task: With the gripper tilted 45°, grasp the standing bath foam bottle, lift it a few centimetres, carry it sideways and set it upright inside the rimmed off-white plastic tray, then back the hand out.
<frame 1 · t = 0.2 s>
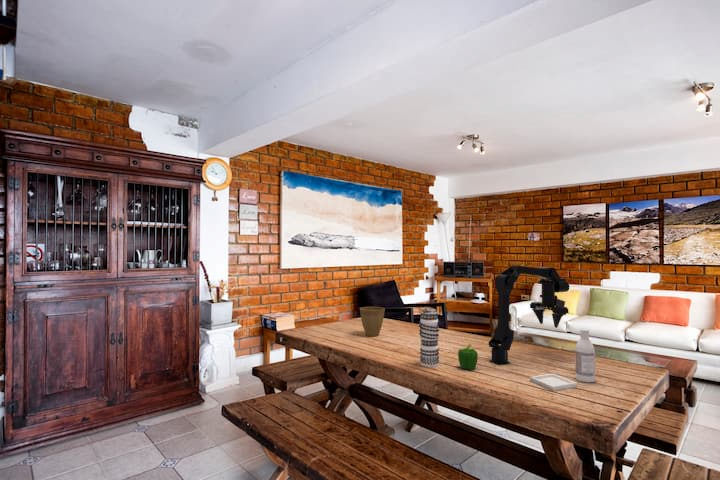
hand: (548, 325, 191), 15 cm above the table, tool pointing down, fingers open, 9 cm apart
leaning tower model: (429, 364, 181), on the table
plant pot: (372, 335, 237), on the table
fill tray: (552, 383, 154), on the table
bath foam: (585, 380, 159), on the table
bell pepper: (468, 368, 175), on the table
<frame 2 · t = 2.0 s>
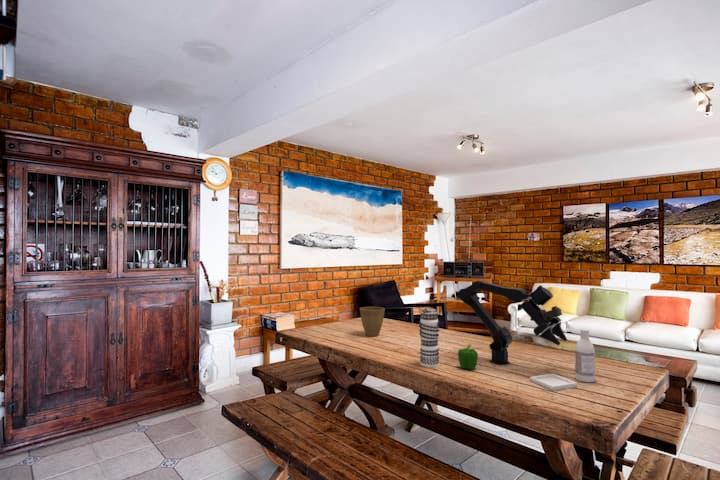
hand: (562, 342, 164), 14 cm above the table, tool tilted 45°, fingers open, 9 cm apart
nothing on the table moved.
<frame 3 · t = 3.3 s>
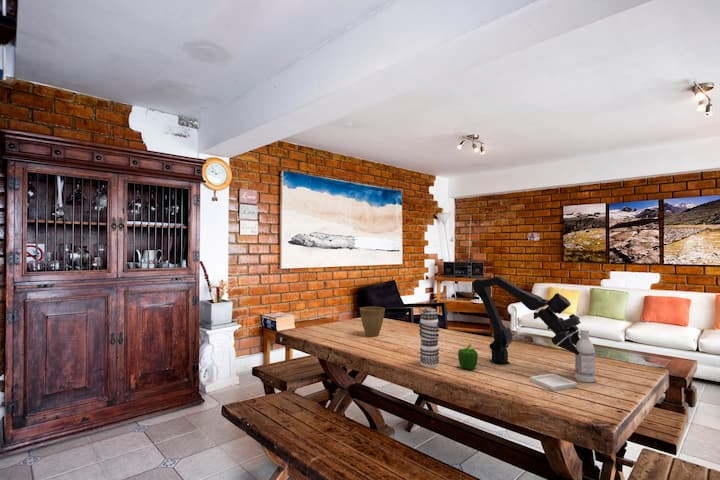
hand: (581, 351, 159), 11 cm above the table, tool tilted 45°, fingers open, 9 cm apart
nothing on the table moved.
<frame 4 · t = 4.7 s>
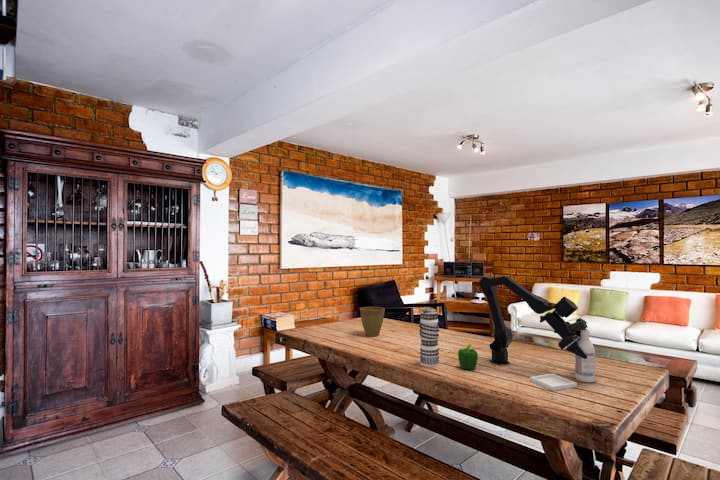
hand: (588, 356, 158), 10 cm above the table, tool tilted 45°, fingers closed on bath foam, 7 cm apart
bath foam: (585, 380, 159), on the table, touching gripper
everything else where it was.
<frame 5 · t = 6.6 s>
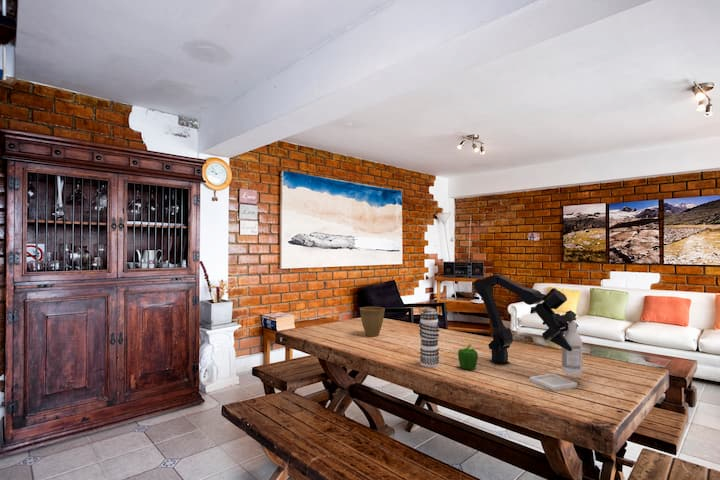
hand: (575, 349, 155), 13 cm above the table, tool tilted 45°, fingers closed on bath foam, 7 cm apart
bath foam: (572, 373, 156), point 3 cm above the table, touching gripper
everything else where it was.
when the fingers open (11 cm above the table, at t = 8.7 s): bath foam drops 1 cm, resting on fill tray.
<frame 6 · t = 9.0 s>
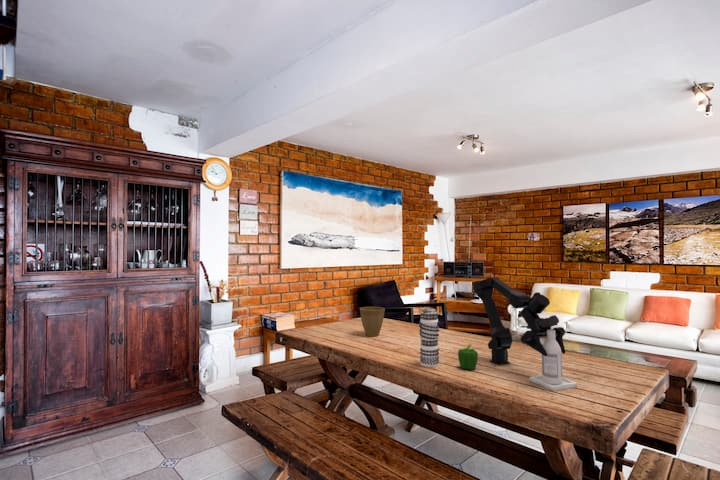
hand: (555, 354, 153), 12 cm above the table, tool tilted 45°, fingers open, 9 cm apart
bath foam: (552, 382, 155), resting on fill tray
everything else where it was.
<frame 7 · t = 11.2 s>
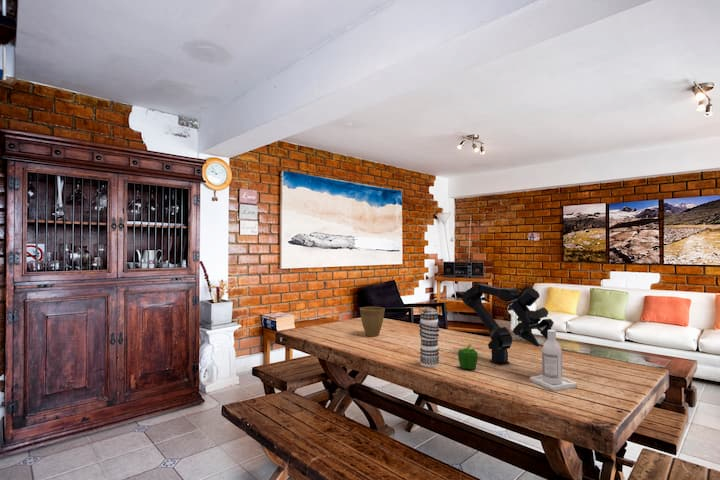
hand: (546, 344, 161), 14 cm above the table, tool tilted 45°, fingers open, 9 cm apart
nothing on the table moved.
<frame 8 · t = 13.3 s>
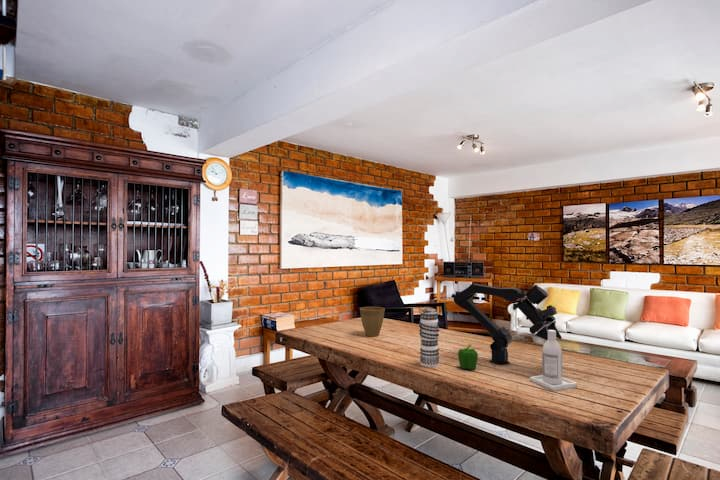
hand: (558, 340, 167), 14 cm above the table, tool tilted 45°, fingers open, 9 cm apart
nothing on the table moved.
at the end: bath foam 0.2 cm off-centre on the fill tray, point 0.4 cm above the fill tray's base; bath foam tilted 0°; the gripper is holding nothing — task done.
